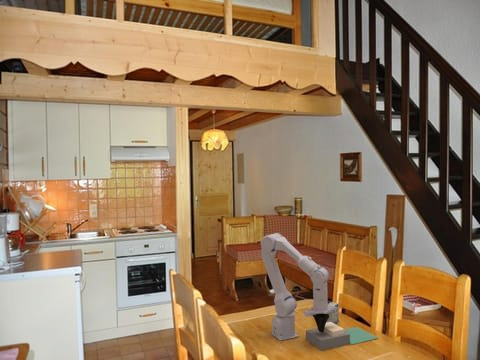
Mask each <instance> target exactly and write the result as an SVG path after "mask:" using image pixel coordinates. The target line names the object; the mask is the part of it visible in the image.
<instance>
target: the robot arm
mask: <svg viewBox="0 0 480 360" xmlns="http://www.w3.org/2000/svg"><path fill="white" fill-rule="evenodd" d="M260 247H261V248H260V249H261V250H260V255H261V260H262V261H263V265H264V267H265V270H266V273H267V276H268V278H269V281H270V283H271V287H272V290H273V291H274V294H275V295H274V300H273V302H274V310H275V313H276V314H277V315H275V316H273V317H272V319H271V335H272V336H273V337H274V338H276V339H277V340H279V341H285V340H290V339H294V338H298V337H299V336H300V335H299V334H297V333H296V330H295V328H296V327H295V326H296V323H295V322H296V321H295V320H296V319H295V310H296V309H297V306H298V303H297V300H296V298H294V297H293V295H292V293H291V292H290V291H289V290H287V286H286V284H285V281H284V279H283V276H282V274H281V271H280V268H279V266H278V263H277V259H276V257H275V255H276V253H277V251H282V252H284V253H286V254H287V255H288V256H290V257H291V258H292V259H293V260H295V261H296V262H297V267H299V268H300V269H301V270H302V271H303V272H304V273H306V274H307V275H308V276H309V277H310V280H311V282H312V284H313V286H312V288H313V289H312V294H313V295H312V296H313V299H312V300H313V301H312V304H313V307H312V308H309V309H307V310H304V314H303V315H304V316H305V317H306V318H309V317H313V319H314V320H315V323H316V328H318V331H319V332H324V328H325V325H326V322H327V320H328V318H329V314H327V313H328V312H336V307H335V306H328V303H329V302H328V300H329V299H328V280H329V277H330V274H329V271H328V270H327V269H326V268H325V267H321V265H320V264H317V263H316V262H315V261H314V260H312V258H313V257H311V256H308V255H303V254H302V253H300V252H299V251H298V250H297V249H296V248H295V247H294V246H293V245H292V244H291V243H290V242H289V241H288V239H287V238H286V237H284V236H283V235H282V234H281V233H279V232H274V233H271V234H266V235H265V236H263V237H262V239H261V241H260Z"/></svg>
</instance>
